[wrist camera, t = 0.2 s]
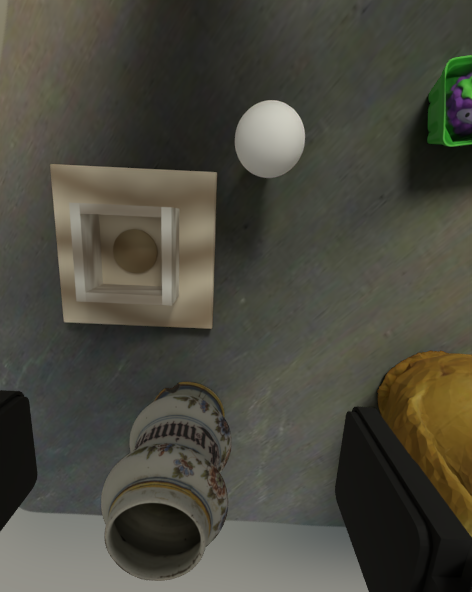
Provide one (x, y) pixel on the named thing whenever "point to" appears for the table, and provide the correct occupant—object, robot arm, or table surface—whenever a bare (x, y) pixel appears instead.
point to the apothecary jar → (169, 485)
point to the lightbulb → (269, 139)
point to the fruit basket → (452, 105)
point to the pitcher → (435, 421)
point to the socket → (135, 245)
